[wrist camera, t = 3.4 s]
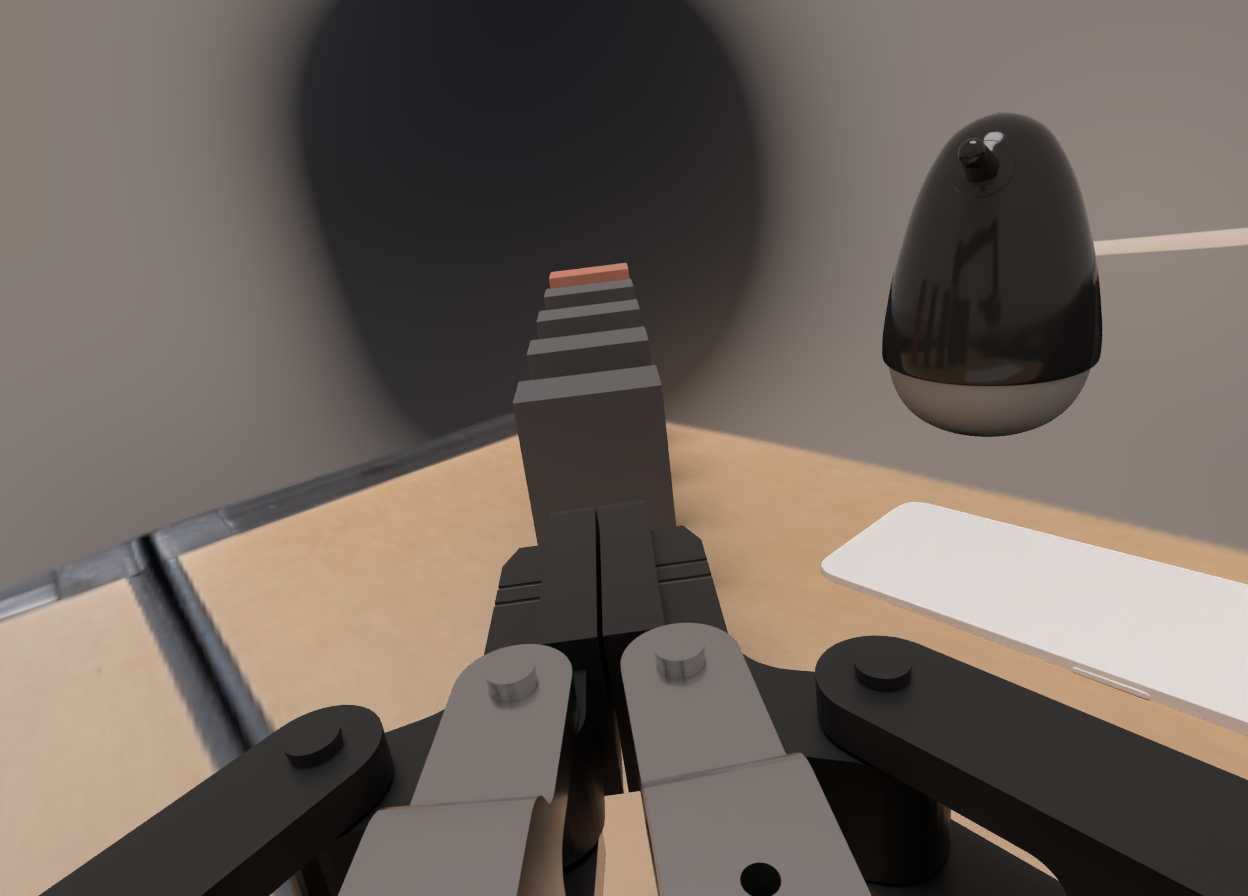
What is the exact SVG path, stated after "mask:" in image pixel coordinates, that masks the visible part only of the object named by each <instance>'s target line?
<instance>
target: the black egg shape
mask: <svg viewBox="0 0 1248 896" xmlns="http://www.w3.org/2000/svg"><path fill="white" fill-rule="evenodd" d="M1101 347H1102V312H1101V296H1100V284H1099V275H1098V268H1097V261H1096V255H1095V249H1094V244H1093V239H1092V234H1091V229H1090V224H1089V220H1088V215H1087V211H1086V207H1085V203H1084V199H1083V195H1082V192H1081V189H1080V186H1079V183H1078V180H1077V177H1076V175H1075V172H1074V169H1073V167H1072V165H1071V163H1070V160H1069V158H1068V157H1067V155H1066V153H1065V151H1064V149H1063V147H1062V146H1061V144H1060V143H1059V141H1058V139H1057V138H1056V137H1055V135H1054V134H1053V133H1052V131H1051V130H1050V129H1049V128H1048V127H1046V126H1045V125H1044V124H1043V123H1041V122H1039V121H1038V120H1036V119H1034V118H1032V117H1029V116H1026V115H1023V114H1018V113H1008V112H999V113H994V114H991V115H987V116H984V117H981V118H978V119H976V120H974V121H972V122H970V123H969V124H967V125H965V126H964V127H962V128H961V129H960V130H958V131H957V132H956V133H955V134H954V135H953V136H952V137H951V138H950V139H949V140H948V141H947V142H946V144H945V145H944V146H943V148H942V149H941V151H940V152H939V154H938V155H937V157H936V159H935V160H934V162H933V164H932V166H931V167H930V169H929V171H928V173H927V175H926V177H925V179H924V181H923V183H922V185H921V188H920V190H919V192H918V195H917V198H916V200H915V203H914V205H913V208H912V211H911V214H910V217H909V220H908V223H907V226H906V230H905V233H904V237H903V240H902V243H901V247H900V250H899V254H898V257H897V261H896V265H895V269H894V273H893V278H892V282H891V288H890V292H889V297H888V303H887V309H886V315H885V322H884V329H883V339H882V357H883V360H884V362H885V364H887V366H888V367H889V370H890V374H891V378H892V381H893V384H894V387H895V389H896V391H897V393H898V395H899V397H900V398H901V400H902V401H903V403H904V404H905V405H906V406H907V407H908V409H910V410H911V411H912V412H913V413H914V414H915V415H916V416H918V417H919V418H920V419H922V420H923V421H925V422H927V423H929V424H931V425H933V426H935V427H938V428H940V429H943V430H946V431H949V432H953V433H957V434H962V435H969V436H982V437H993V436H1006V435H1013V434H1018V433H1022V432H1025V431H1029V430H1032V429H1035V428H1037V427H1040V426H1042V425H1044V424H1046V423H1048V422H1050V421H1052V420H1053V419H1055V418H1056V417H1058V416H1059V415H1060V414H1062V413H1063V412H1064V411H1065V410H1066V409H1067V408H1068V407H1069V406H1070V405H1071V404H1072V403H1073V402H1074V400H1075V399H1076V397H1077V396H1078V395H1079V393H1080V392H1081V390H1082V388H1083V386H1084V385H1085V382H1086V380H1087V378H1088V375H1089V372H1090V369H1091V368H1092V367H1094V365H1096V364H1097V362H1098V361H1099V359H1100V355H1101Z"/></svg>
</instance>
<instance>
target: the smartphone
mask: <svg viewBox="0 0 1248 896" xmlns="http://www.w3.org/2000/svg"><path fill="white" fill-rule="evenodd" d="M821 572H822V575H823V576H824V577H825V578H826V579H828V580H830V581H832V582H834V583H836V584H839V585H842V586H844V587H847V588H850V589H852V590H855V591H858V592H861V593H863V594H866V595H869V596H871V597H874V598H877V599H879V600H882V601H885V602H887V603H890V604H893V605H895V606H898V607H901V608H904V609H906V610H909V611H912V612H915V613H918V614H920V615H923V616H926V617H928V618H931V619H934V620H936V621H939V622H942V623H944V624H947V625H950V626H953V627H955V628H958V629H961V630H963V631H966V632H969V633H971V634H974V635H976V636H979V637H982V638H984V639H987V640H990V641H992V642H995V643H998V644H1000V645H1003V646H1006V647H1009V648H1011V649H1014V650H1017V651H1019V652H1022V653H1025V654H1027V655H1030V656H1033V657H1035V658H1038V659H1041V660H1044V661H1046V662H1049V663H1052V664H1054V665H1057V666H1060V667H1062V668H1065V669H1068V670H1070V671H1073V672H1074V673H1077V674H1079V675H1082V676H1084V677H1087V678H1090V679H1093V680H1095V681H1098V682H1101V683H1104V684H1106V685H1109V686H1112V687H1115V688H1117V689H1120V690H1123V691H1126V692H1128V693H1131V694H1134V695H1137V696H1139V697H1142V698H1145V699H1149V700H1151V701H1154V702H1157V703H1159V704H1162V705H1165V706H1167V707H1170V708H1173V709H1175V710H1178V711H1181V712H1184V713H1186V714H1189V715H1192V716H1194V717H1197V718H1200V719H1202V720H1205V721H1208V722H1210V723H1213V724H1216V725H1219V726H1221V727H1224V728H1227V729H1229V730H1232V731H1235V732H1237V733H1240V734H1243V735H1245V736H1248V585H1247V584H1243V583H1240V582H1236V581H1232V580H1228V579H1224V578H1220V577H1216V576H1212V575H1208V574H1204V573H1200V572H1196V571H1192V570H1188V569H1184V568H1180V567H1177V566H1173V565H1169V564H1165V563H1161V562H1157V561H1153V560H1149V559H1145V558H1141V557H1137V556H1133V555H1129V554H1125V553H1121V552H1117V551H1113V550H1110V549H1106V548H1102V547H1098V546H1094V545H1090V544H1086V543H1082V542H1078V541H1074V540H1070V539H1066V538H1062V537H1058V536H1054V535H1050V534H1046V533H1043V532H1039V531H1035V530H1031V529H1027V528H1023V527H1019V526H1015V525H1011V524H1007V523H1003V522H999V521H995V520H991V519H987V518H983V517H979V516H976V515H972V514H968V513H964V512H960V511H956V510H952V509H948V508H944V507H940V506H936V505H932V504H928V503H921V502H909V503H905V504H902V505H900V506H898V507H896V508H895V509H893V510H892V511H890V512H889V513H888V514H886V515H885V516H883V517H882V518H881V519H879V520H878V521H876V522H875V523H874V524H872V525H871V526H869V527H868V528H867V529H865V530H864V531H862V532H861V533H860V534H858V535H857V536H855V537H854V538H853V539H851V540H850V541H848V542H847V543H845V544H844V545H843V546H841V547H840V548H838V549H837V550H836V551H834V552H833V553H832V554H830V555H829V556H827V557H826V558H825V559H824V560H823V561H822V564H821Z"/></svg>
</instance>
